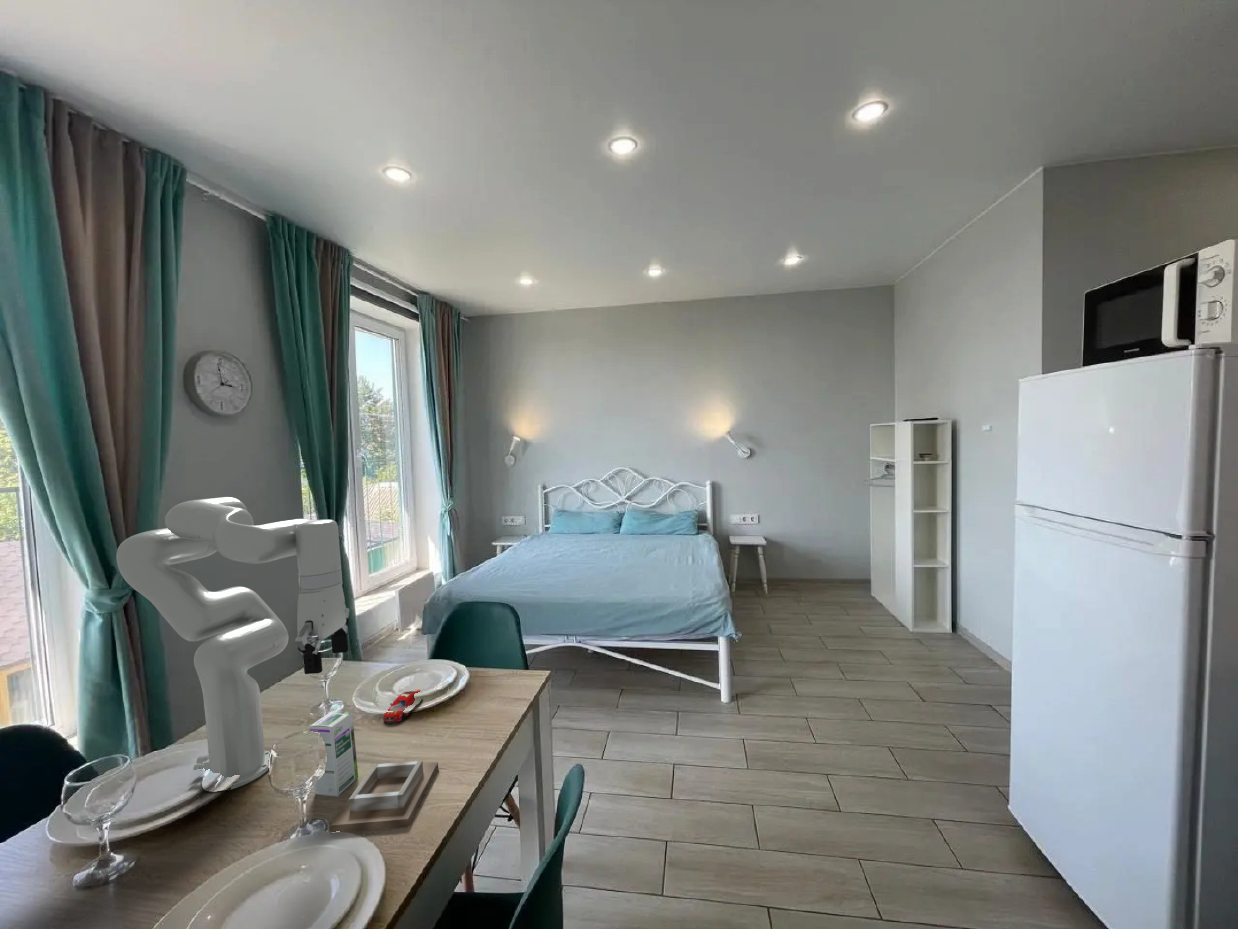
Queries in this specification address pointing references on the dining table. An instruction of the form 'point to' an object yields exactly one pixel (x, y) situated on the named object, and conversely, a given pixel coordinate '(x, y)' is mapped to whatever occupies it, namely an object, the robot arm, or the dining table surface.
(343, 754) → the syrup box
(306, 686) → the dining table surface
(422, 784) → the socket board
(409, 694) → the race car
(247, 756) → the robot arm
